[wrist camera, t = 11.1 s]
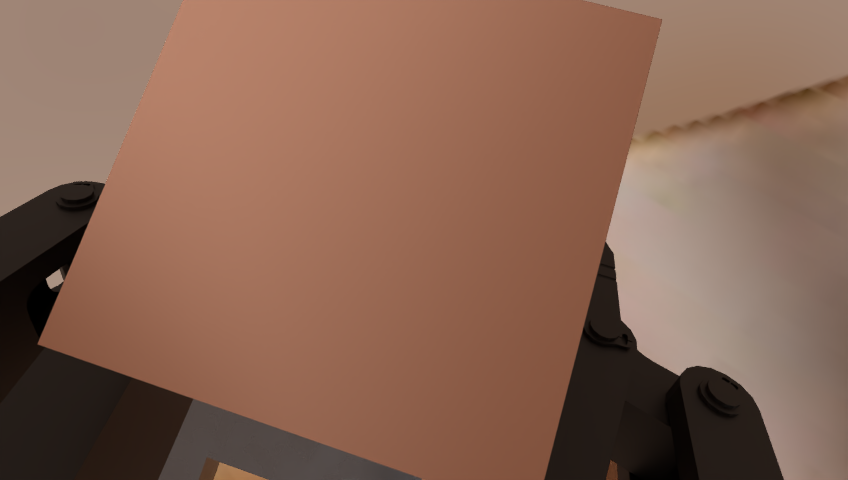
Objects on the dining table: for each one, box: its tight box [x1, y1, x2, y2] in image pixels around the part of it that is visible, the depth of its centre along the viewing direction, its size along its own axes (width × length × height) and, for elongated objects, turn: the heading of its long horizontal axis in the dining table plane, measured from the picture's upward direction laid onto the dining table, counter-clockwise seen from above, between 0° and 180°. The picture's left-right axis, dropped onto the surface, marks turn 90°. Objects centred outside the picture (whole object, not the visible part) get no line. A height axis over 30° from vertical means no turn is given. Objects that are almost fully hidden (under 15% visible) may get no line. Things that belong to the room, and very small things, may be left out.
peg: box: [38, 0, 662, 480], centre depth 13 cm, size 5×5×16 cm
